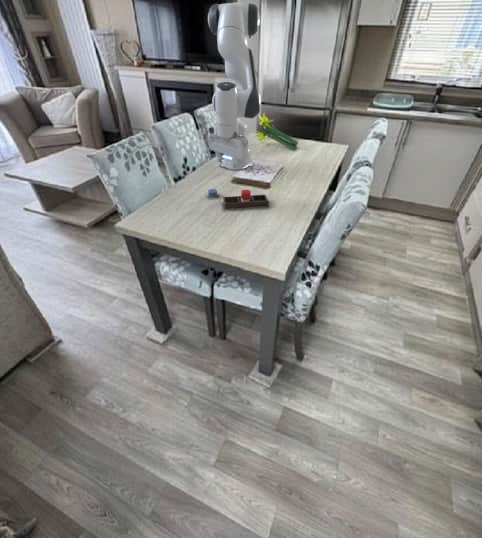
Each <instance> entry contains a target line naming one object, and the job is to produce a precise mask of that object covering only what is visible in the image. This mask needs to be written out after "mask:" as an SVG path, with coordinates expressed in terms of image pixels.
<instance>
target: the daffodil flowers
mask: <svg viewBox="0 0 482 538" xmlns="http://www.w3.org/2000/svg"><path fill="white" fill-rule="evenodd" d="M257 116H258V118H259V120H260V121H259V123H258V124H259V126H260V125H261V126H263V128H261V129H260V128H257V130H255V132H256V133H258V134H256V135H254V137H256V138H258V141H259V142H261V143H263V142H264V141H265V143H267V141H269V140H274V141H276V142H277V143H279V144H281V145H283V146H285V147H287V148H289V149H290V150H293V151H295V150H296V149H297V146H298V145H299V142H300V140H299V139H297V138H295V137H293V136H291V135H288V134H286V133H284V132H281V131H280V130H278V129H277V128H276V127H275V126H274V124H273V122H274V121H275V119H268V116H266V112H263V114H262V116H261V115H260V113H259V114H258V115H257ZM264 130H266V131H267V132H268V133H267V132H265V131H264ZM266 146H268V144H266Z"/></svg>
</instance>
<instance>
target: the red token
mask: <svg viewBox="0 0 482 538" xmlns="http://www.w3.org/2000/svg"><path fill="white" fill-rule="evenodd" d="M251 195H252V191H251V190H250V189H242V190H241V191H240V196H241V198H242V199H243V200H249V199H250V198H251Z"/></svg>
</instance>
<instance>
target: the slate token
mask: <svg viewBox="0 0 482 538" xmlns="http://www.w3.org/2000/svg"><path fill="white" fill-rule="evenodd" d="M207 193H208V197H210V198H216V197H218V190H217V189H215V188H210V189H208V191H207Z"/></svg>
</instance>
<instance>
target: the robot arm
mask: <svg viewBox="0 0 482 538" xmlns="http://www.w3.org/2000/svg"><path fill="white" fill-rule="evenodd" d="M207 23H208V28H209V30H210V32H211V33H212V34H213V35H214V36H216V37H217V38H216V42H217V50H218V53H219V55H220V56H221V58H222V59H223V60H224V72H225V75H226V77H227V78H228V79H230V80H232V81H233V82H234V83H233V82H231V81H222V82H219V83H218V84H216V86H215V92H214V93H213V96H212V98H211V99H212V100H211V103H212V107H213V111H214V113H215V115H216V119H215V124H214V125H211V126H208V127H207V133H208V134H207V144H208V148H209V149H210V151H213V152H215V155H216V157H217V162H218V163H221V167H222V168H226V169H229V170H232V171H242V169H243V167H245V166H246V165H248V164H249V163H251V162H252V157H251V156H252V155H251V150H250V149H249V140H248V125H247V123H246V122H244V120H241V119H240V118H244V119H251V120H252V119H254V118H256V117H257V116H259V115H260V111H261V108H262V97H261V93H260V92H259V88H258V80H257V72H256V64H255V58H254V54H253V50H252V49H251V48H249V46H248V45H249V44H248V39H251V38H252V37H253V36H255V35H256V34H257V33H258V31H259V27H260V24H261V14H260V11H259V8H258V5H256V4H254V3H250V2H248V3H246V2H237V1H236V2H234V1H233V2H226V3H221V4H219V3H214V4H212V5H211V6H210V8H209V10H208V13H207ZM258 114H259V115H258ZM243 170H244V169H243Z"/></svg>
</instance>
